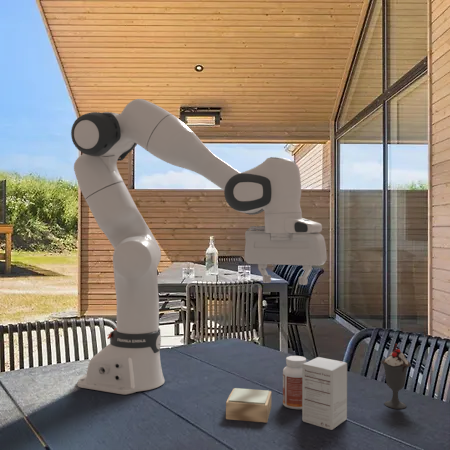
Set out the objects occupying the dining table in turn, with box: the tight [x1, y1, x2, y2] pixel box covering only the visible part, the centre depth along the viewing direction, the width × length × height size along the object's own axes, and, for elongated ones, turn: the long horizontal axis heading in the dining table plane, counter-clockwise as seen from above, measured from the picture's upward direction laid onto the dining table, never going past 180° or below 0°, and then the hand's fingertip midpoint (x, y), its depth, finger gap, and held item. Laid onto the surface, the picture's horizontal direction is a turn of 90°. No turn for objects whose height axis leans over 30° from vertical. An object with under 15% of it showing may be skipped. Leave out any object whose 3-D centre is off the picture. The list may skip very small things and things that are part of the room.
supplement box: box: [301, 356, 348, 431], centre depth 108 cm, size 7×7×13 cm
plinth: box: [225, 387, 273, 424], centre depth 112 cm, size 9×9×4 cm
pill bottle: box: [282, 355, 307, 410], centre depth 116 cm, size 6×6×11 cm
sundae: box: [380, 343, 412, 410], centre depth 117 cm, size 7×7×15 cm
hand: (284, 283), depth 118 cm, fingers open, 8 cm apart
